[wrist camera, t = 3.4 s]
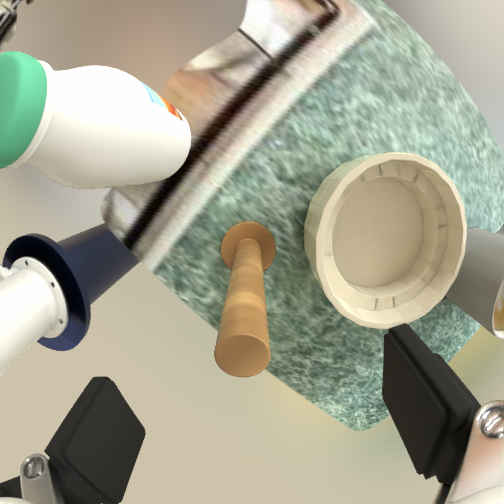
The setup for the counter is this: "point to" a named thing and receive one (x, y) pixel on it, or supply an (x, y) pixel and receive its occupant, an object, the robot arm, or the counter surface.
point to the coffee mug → (482, 280)
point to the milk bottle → (87, 125)
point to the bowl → (385, 238)
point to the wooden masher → (245, 301)
